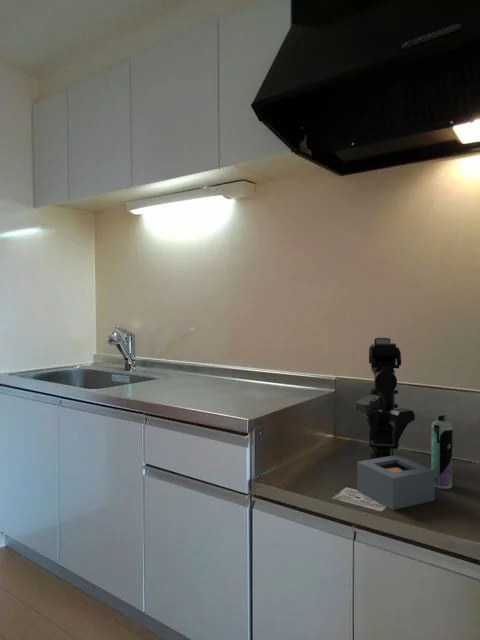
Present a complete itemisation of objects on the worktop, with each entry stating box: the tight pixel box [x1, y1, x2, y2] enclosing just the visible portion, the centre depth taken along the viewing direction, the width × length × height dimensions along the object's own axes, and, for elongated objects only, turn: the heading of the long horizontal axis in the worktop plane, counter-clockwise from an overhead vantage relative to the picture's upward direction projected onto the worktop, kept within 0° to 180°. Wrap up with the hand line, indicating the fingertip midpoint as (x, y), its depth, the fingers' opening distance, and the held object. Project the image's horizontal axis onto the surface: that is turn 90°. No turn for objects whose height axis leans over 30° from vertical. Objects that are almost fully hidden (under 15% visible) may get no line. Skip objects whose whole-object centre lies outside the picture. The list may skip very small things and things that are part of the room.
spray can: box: [430, 414, 453, 490], centre depth 135 cm, size 6×6×20 cm
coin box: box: [356, 454, 436, 511], centre depth 128 cm, size 14×14×8 cm
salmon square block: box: [387, 467, 403, 473], centre depth 128 cm, size 5×5×3 cm
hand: (384, 439), depth 139 cm, fingers open, 9 cm apart
